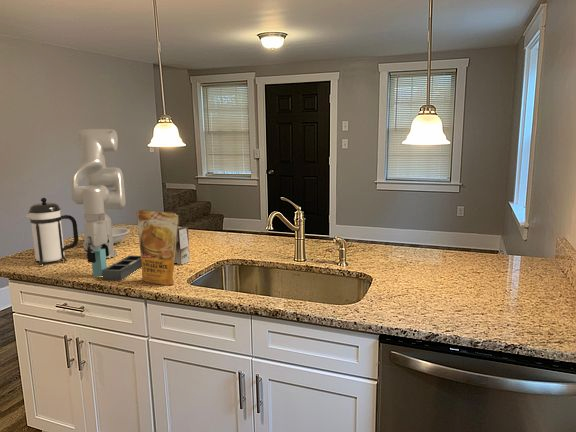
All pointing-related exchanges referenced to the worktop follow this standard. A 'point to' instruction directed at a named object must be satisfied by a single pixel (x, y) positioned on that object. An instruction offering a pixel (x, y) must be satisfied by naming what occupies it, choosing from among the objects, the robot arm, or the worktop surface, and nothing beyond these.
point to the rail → (122, 268)
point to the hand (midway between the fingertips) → (98, 259)
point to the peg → (99, 262)
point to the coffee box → (182, 246)
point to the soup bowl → (118, 234)
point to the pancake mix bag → (157, 245)
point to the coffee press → (49, 232)
